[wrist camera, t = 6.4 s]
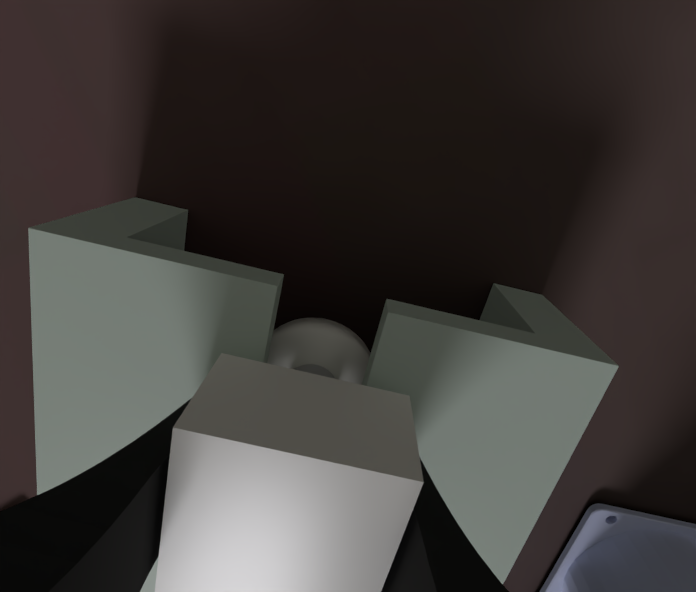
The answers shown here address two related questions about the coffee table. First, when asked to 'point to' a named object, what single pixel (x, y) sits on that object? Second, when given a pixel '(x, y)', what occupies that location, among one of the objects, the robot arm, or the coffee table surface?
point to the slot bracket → (254, 343)
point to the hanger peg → (289, 472)
